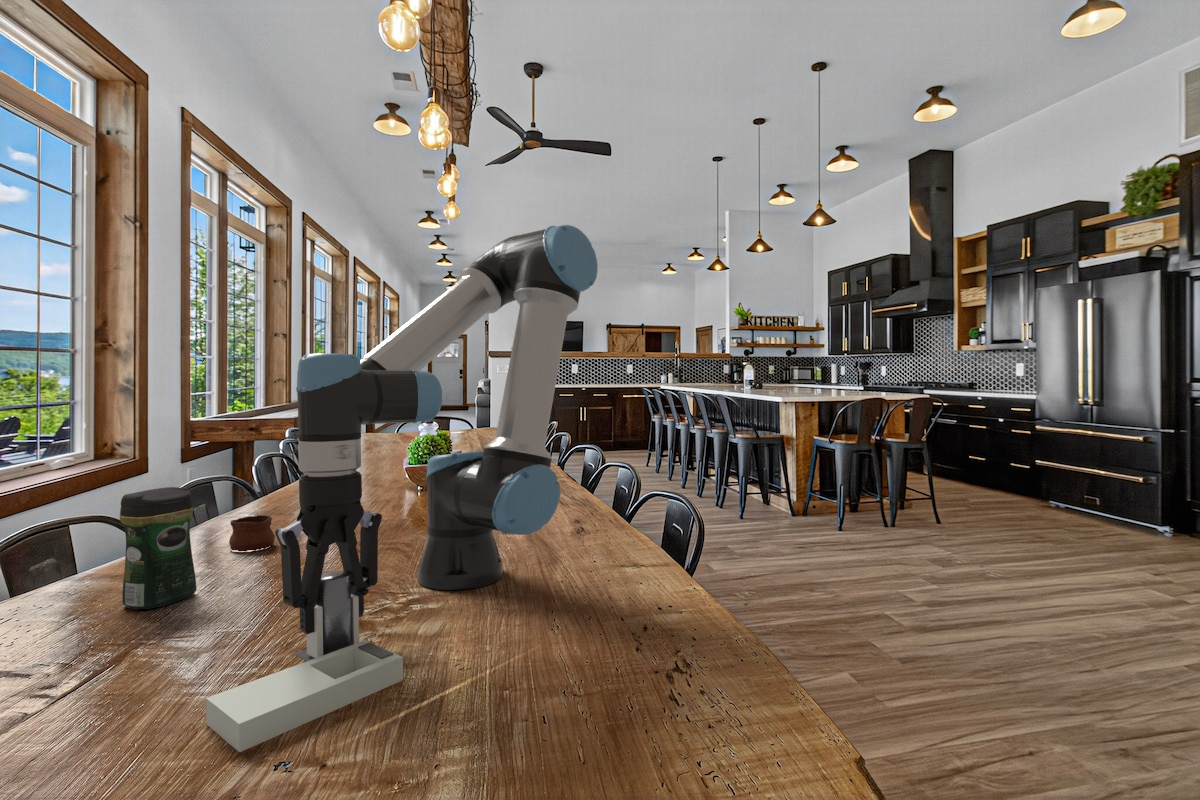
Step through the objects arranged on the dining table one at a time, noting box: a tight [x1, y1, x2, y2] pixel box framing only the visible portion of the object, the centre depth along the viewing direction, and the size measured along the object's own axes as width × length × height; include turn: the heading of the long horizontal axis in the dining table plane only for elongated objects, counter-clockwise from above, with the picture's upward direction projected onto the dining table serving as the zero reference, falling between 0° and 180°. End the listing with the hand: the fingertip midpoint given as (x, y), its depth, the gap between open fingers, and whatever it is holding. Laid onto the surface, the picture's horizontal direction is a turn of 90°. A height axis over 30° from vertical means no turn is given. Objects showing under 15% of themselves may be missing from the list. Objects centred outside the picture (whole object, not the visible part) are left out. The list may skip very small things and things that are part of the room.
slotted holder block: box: [205, 639, 404, 753], centre depth 68 cm, size 8×18×3 cm, turn 142°
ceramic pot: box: [228, 514, 276, 551], centre depth 133 cm, size 18×18×7 cm
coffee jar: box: [119, 486, 197, 611], centre depth 100 cm, size 10×8×19 cm
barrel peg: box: [316, 570, 352, 655], centre depth 80 cm, size 4×4×10 cm
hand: (333, 648), depth 80 cm, fingers closed on barrel peg, 4 cm apart
